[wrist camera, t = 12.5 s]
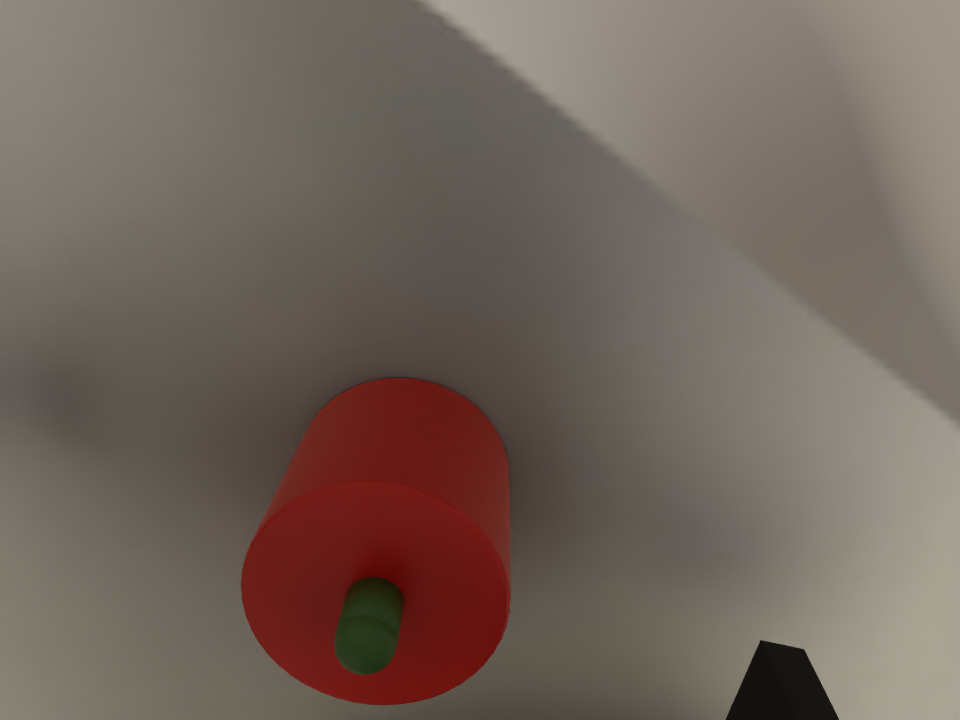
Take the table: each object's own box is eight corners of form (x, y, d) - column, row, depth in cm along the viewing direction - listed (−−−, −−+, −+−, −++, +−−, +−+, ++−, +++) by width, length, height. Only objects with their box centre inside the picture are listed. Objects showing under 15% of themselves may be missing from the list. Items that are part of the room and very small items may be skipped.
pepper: (316, 354, 17) (229, 504, 12) (532, 403, 18) (545, 572, 12) (284, 538, 19) (195, 744, 14) (482, 581, 19) (473, 799, 14)
